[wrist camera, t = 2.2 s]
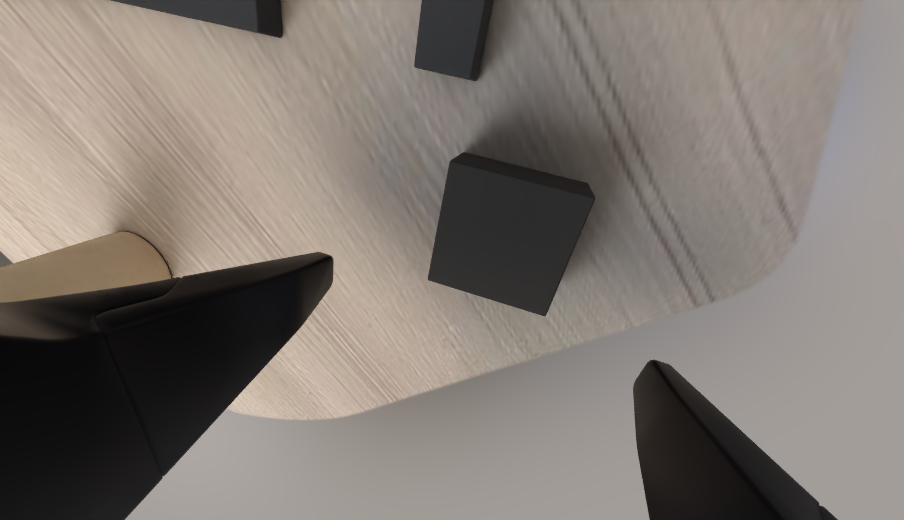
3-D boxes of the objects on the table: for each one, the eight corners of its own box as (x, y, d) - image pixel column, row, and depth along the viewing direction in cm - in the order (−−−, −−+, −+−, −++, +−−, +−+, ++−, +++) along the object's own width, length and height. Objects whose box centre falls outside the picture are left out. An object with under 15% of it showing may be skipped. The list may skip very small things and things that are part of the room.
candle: (184, 294, 26) (-1, 394, 17) (136, 294, 27) (-56, 385, 18) (148, 228, 23) (-87, 304, 15) (98, 232, 25) (-141, 303, 16)
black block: (588, 183, 15) (596, 197, 13) (545, 290, 18) (545, 317, 16) (462, 151, 16) (449, 159, 13) (440, 259, 18) (427, 280, 16)
